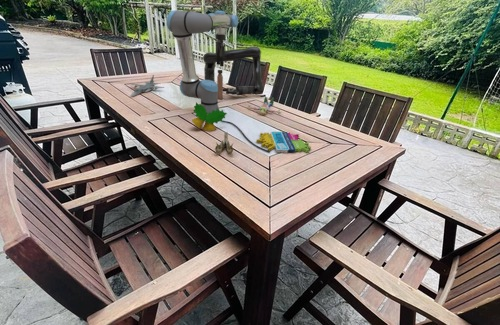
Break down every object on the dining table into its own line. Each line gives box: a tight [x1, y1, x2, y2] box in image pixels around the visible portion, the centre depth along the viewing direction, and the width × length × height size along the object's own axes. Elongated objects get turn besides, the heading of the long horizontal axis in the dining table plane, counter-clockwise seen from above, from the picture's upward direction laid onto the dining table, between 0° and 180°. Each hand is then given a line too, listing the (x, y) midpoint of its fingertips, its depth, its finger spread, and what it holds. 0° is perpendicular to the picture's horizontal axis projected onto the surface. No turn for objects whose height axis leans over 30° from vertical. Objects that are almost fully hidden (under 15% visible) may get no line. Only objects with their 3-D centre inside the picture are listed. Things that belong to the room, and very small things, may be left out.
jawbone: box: [214, 131, 234, 156], centre depth 136 cm, size 9×15×10 cm
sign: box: [256, 131, 312, 154], centre depth 152 cm, size 26×2×30 cm
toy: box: [246, 95, 283, 116], centre depth 203 cm, size 28×7×30 cm
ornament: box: [191, 102, 228, 132], centre depth 162 cm, size 21×8×15 cm, turn 105°
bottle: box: [216, 72, 224, 100], centre depth 219 cm, size 4×4×23 cm
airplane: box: [130, 74, 165, 97], centre depth 228 cm, size 38×32×10 cm
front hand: (220, 65), depth 211 cm, fingers open, 7 cm apart
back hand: (224, 91), depth 223 cm, fingers open, 8 cm apart
